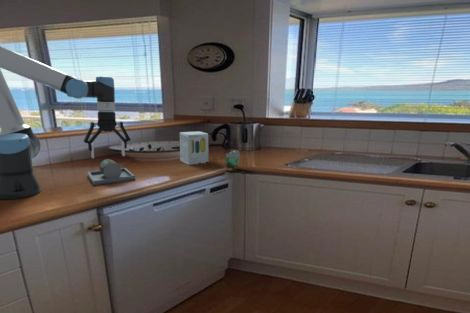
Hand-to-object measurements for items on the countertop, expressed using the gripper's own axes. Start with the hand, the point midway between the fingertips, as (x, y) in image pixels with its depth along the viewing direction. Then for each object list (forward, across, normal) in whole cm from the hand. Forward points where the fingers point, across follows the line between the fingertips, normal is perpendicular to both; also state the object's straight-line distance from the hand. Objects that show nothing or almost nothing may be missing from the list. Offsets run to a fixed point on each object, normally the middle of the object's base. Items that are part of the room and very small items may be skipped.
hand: (108, 156), depth 146 cm
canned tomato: (+6, 0, -7) cm, 9 cm away
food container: (+9, +61, -16) cm, 64 cm away
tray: (+10, +1, 0) cm, 10 cm away
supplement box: (+10, +51, +13) cm, 53 cm away
